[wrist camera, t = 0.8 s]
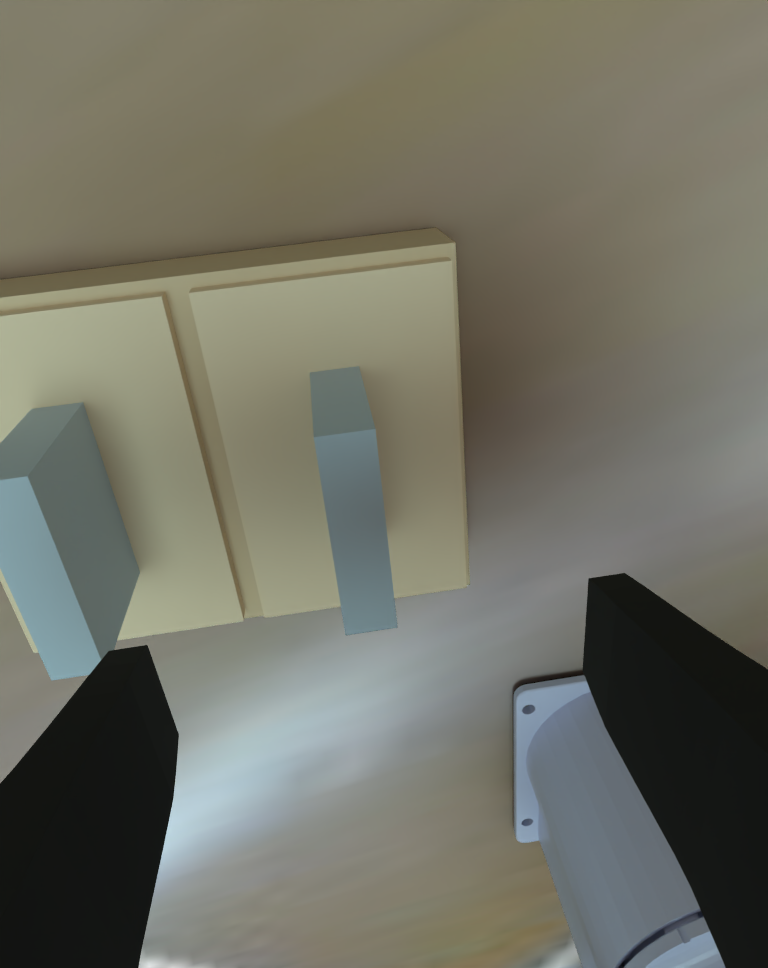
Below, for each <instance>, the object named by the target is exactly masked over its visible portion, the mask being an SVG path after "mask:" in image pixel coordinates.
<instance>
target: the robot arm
mask: <svg viewBox="0 0 768 968" xmlns="http://www.w3.org/2000/svg"><path fill="white" fill-rule="evenodd" d="M583 673H584V675H581V676H575V677H568V678H562V679H556V680H550V681H543V682H537V683H531V684H525V685H522V686H520V687H519V688H517V689H516V691H515V692H514V833H515V836H516V839H517V840H518V841H519V842H522V843H527V842H533V841H540V844H541V846H542V849H543V852H544V855H545V858H546V861H547V864H548V867H549V870H550V873H551V876H552V879H553V882H554V885H555V888H556V891H557V893H558V896H559V899H560V902H561V905H562V908H563V911H564V914H565V917H566V920H567V923H568V926H569V929H570V932H571V935H572V938H573V940H574V943H575V946H576V949H577V952H578V955H579V958H580V961H581V964H582V967H583V968H768V669H766V668H765V667H763V666H762V665H760V664H758V663H757V662H755V661H754V660H752V659H750V658H749V657H747V656H746V655H744V654H743V653H741V652H739V651H738V650H736V649H735V648H733V647H732V646H730V645H729V644H727V643H726V642H724V641H723V640H721V639H720V638H718V637H717V636H715V635H714V634H712V633H711V632H709V631H708V630H706V629H705V628H703V627H702V626H700V625H699V624H698V623H696V622H695V621H693V620H692V619H690V618H689V617H687V616H686V615H685V614H683V613H682V612H680V611H679V610H677V609H676V608H674V607H673V606H672V605H670V604H669V603H667V602H666V601H665V600H663V599H662V598H660V597H659V596H657V595H656V594H655V593H653V592H652V591H650V590H649V589H647V588H646V587H645V586H643V585H642V584H640V583H639V582H637V581H636V580H634V579H633V578H631V577H630V576H628V575H627V574H625V573H622V574H616V575H609V576H602V577H596V578H589V582H588V597H587V612H586V627H585V643H584V658H583ZM526 705H529V706H526ZM525 706H526V707H525ZM178 738H179V734H178V731H177V728H176V726H175V723H174V720H173V717H172V714H171V711H170V708H169V706H168V703H167V700H166V697H165V694H164V691H163V688H162V686H161V683H160V680H159V677H158V674H157V671H156V668H155V666H154V663H153V660H152V657H151V654H150V651H149V648H148V646H147V645H145V646H138V647H132V648H125V649H119V650H112V651H108V652H107V654H106V655H105V656H104V657H103V659H102V660H101V661H100V662H99V663H98V665H97V666H96V667H95V668H94V670H93V671H92V672H91V673H90V675H89V676H88V677H87V678H86V680H85V681H84V682H83V683H82V685H81V686H80V687H79V688H78V690H77V691H76V692H75V694H74V695H73V696H72V697H71V699H70V700H69V701H68V702H67V704H66V705H65V706H64V707H63V709H62V710H61V711H60V712H59V714H58V715H57V716H56V718H55V719H54V720H53V721H52V723H51V724H50V725H49V726H48V727H47V729H46V730H45V731H44V732H43V734H42V735H41V736H40V737H39V738H38V740H37V741H36V742H35V743H34V745H33V746H32V747H31V748H30V749H29V751H28V752H27V753H26V754H25V755H24V757H23V758H22V759H21V760H20V762H19V763H18V764H17V765H16V766H15V768H14V769H13V770H12V771H11V772H10V773H9V774H8V775H7V777H6V778H5V779H4V780H3V781H2V782H1V783H0V968H138V966H139V960H140V955H141V949H142V944H143V940H144V935H145V930H146V925H147V921H148V916H149V911H150V907H151V902H152V897H153V893H154V888H155V883H156V879H157V874H158V869H159V865H160V860H161V855H162V851H163V846H164V841H165V836H166V831H167V827H168V822H169V817H170V812H171V807H172V802H173V796H174V786H175V776H176V764H177V751H178Z"/></svg>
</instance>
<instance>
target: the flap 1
mask: <svg viewBox="0 0 768 968" xmlns="http://www.w3.org/2000/svg"><path fill="white" fill-rule="evenodd" d="M0 581H1V583H2V585H3V587H4V590H5V592H6V594H7V596H8V598H9V600H10V603H11V605H12V607H13V609H14V611H15V613H16V616H17V618H18V620H19V622H20V624H21V626H22V629H23V631H24V633H25V635H26V637H27V639H28V641H29V644H30V646H31V648H32V650H33V652H34V653H37V652H39V654H40V656H41V658H42V661H43V663H44V665H45V667H46V669H47V672H48V674H49V676H50V678H51V680H58V679H65V678H71V677H78V676H84V675H90V673H91V672H92V671H93V670H94V668H95V667H96V666H97V665H98V663H99V662H100V661H101V660H102V659H103V657H104V656H105V655H106V654H107V652H108V651H112V650H114V648H115V645H116V642H117V640H123V639H130V638H136V637H143V636H150V635H156V634H163V633H169V632H176V631H183V630H189V629H196V628H203V627H209V626H216V625H222V624H229V623H236V622H242V621H244V615H245V608H244V604H243V600H242V596H241V592H240V588H239V584H238V580H237V576H236V572H235V568H234V564H233V560H232V556H231V552H230V548H229V544H228V540H227V536H226V533H225V529H224V525H223V521H222V517H221V513H220V509H219V505H218V501H217V497H216V493H215V489H214V485H213V481H212V477H211V473H210V469H209V465H208V461H207V457H206V453H205V449H204V445H203V441H202V437H201V433H200V429H199V425H198V421H197V417H196V413H195V409H194V405H193V401H192V397H191V393H190V389H189V385H188V381H187V377H186V373H185V369H184V365H183V361H182V357H181V353H180V349H179V345H178V341H177V337H176V333H175V329H174V325H173V321H172V317H171V313H170V309H169V305H168V301H167V297H166V293H165V291H164V292H156V293H148V294H140V295H132V296H123V297H115V298H107V299H99V300H91V301H83V302H74V303H66V304H58V305H50V306H42V307H34V308H26V309H17V310H9V311H1V312H0Z"/></svg>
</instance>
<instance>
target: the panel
mask: <svg viewBox="0 0 768 968" xmlns="http://www.w3.org/2000/svg"><path fill="white" fill-rule="evenodd" d="M442 257H448V258H450V259H451V260H452V272H453V294H454V316H455V339H456V361H457V383H458V405H459V427H460V450H461V472H462V494H463V516H464V538H465V560H466V583H467V585H470V576H469V553H468V529H467V505H466V481H465V458H464V434H463V410H462V386H461V363H460V339H459V315H458V292H457V268H456V244H455V242H454V241H453V240H452V239H450V238H449V237H448V236H446V235H445V234H444V233H442V232H441V231H440V230H438V229H437V228H436V227H435V228H427V229H419V230H410V231H402V232H394V233H385V234H377V235H369V236H360V237H352V238H344V239H335V240H327V241H319V242H310V243H302V244H294V245H285V246H277V247H269V248H260V249H252V250H244V251H235V252H227V253H219V254H210V255H202V256H194V257H185V258H177V259H169V260H160V261H152V262H144V263H135V264H127V265H119V266H110V267H102V268H94V269H85V270H77V271H69V272H60V273H52V274H44V275H35V276H27V277H19V278H10V279H2V280H0V312H1V311H9V310H17V309H26V308H34V307H42V306H50V305H58V304H66V303H74V302H83V301H91V300H99V299H107V298H115V297H123V296H132V295H140V294H148V293H156V292H164V291H165V293H166V297H167V301H168V305H169V309H170V313H171V317H172V321H173V325H174V329H175V333H176V337H177V341H178V345H179V349H180V353H181V357H182V361H183V365H184V369H185V373H186V377H187V381H188V385H189V389H190V393H191V397H192V401H193V405H194V409H195V413H196V417H197V421H198V425H199V429H200V433H201V437H202V441H203V445H204V449H205V453H206V457H207V461H208V465H209V469H210V473H211V477H212V481H213V485H214V489H215V493H216V497H217V501H218V505H219V509H220V513H221V517H222V521H223V525H224V529H225V533H226V536H227V540H228V544H229V548H230V552H231V556H232V560H233V564H234V568H235V572H236V576H237V580H238V584H239V588H240V592H241V596H242V600H243V604H244V608H245V615H244V619H245V618H251V617H258V616H264V614H263V610H262V605H261V601H260V597H259V593H258V588H257V584H256V580H255V575H254V571H253V567H252V563H251V558H250V554H249V550H248V546H247V541H246V537H245V533H244V528H243V524H242V520H241V516H240V511H239V507H238V503H237V499H236V494H235V490H234V486H233V481H232V477H231V473H230V469H229V464H228V460H227V456H226V452H225V447H224V443H223V439H222V434H221V430H220V426H219V422H218V417H217V413H216V409H215V405H214V400H213V396H212V392H211V388H210V383H209V379H208V375H207V370H206V366H205V362H204V358H203V353H202V349H201V345H200V341H199V336H198V332H197V328H196V323H195V319H194V315H193V311H192V306H191V302H190V298H189V294H188V293H189V291H190V290H191V288H197V287H205V286H213V285H221V284H229V283H238V282H246V281H254V280H262V279H270V278H278V277H287V276H295V275H303V274H311V273H319V272H327V271H336V270H344V269H352V268H360V267H368V266H376V265H384V264H393V263H401V262H409V261H417V260H425V259H433V258H442Z"/></svg>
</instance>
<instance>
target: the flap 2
mask: <svg viewBox="0 0 768 968" xmlns="http://www.w3.org/2000/svg"><path fill="white" fill-rule="evenodd" d="M188 294H189V298H190V302H191V306H192V311H193V315H194V319H195V323H196V328H197V332H198V336H199V341H200V345H201V349H202V353H203V358H204V362H205V366H206V370H207V375H208V379H209V383H210V388H211V392H212V396H213V400H214V405H215V409H216V413H217V417H218V422H219V426H220V430H221V434H222V439H223V443H224V447H225V452H226V456H227V460H228V464H229V469H230V473H231V477H232V481H233V486H234V490H235V494H236V499H237V503H238V507H239V511H240V516H241V520H242V524H243V528H244V533H245V537H246V541H247V546H248V550H249V554H250V558H251V563H252V567H253V571H254V575H255V580H256V584H257V588H258V593H259V597H260V601H261V605H262V610H263V614H264V618H269V617H275V616H282V615H289V614H295V613H302V612H309V611H315V610H322V609H328V608H335V607H341V610H342V616H343V622H344V628H345V635H351V634H358V633H364V632H371V631H378V630H384V629H391V628H397V618H396V609H395V600H394V599H395V598H401V597H408V596H415V595H421V594H428V593H434V592H441V591H448V590H454V589H461V588H467V583H466V560H465V538H464V516H463V494H462V472H461V450H460V427H459V405H458V383H457V361H456V339H455V316H454V294H453V272H452V260H451V259H450V258H448V257H442V258H433V259H425V260H417V261H409V262H401V263H393V264H384V265H376V266H368V267H360V268H352V269H344V270H336V271H327V272H319V273H311V274H303V275H295V276H287V277H278V278H270V279H262V280H254V281H246V282H238V283H229V284H221V285H213V286H205V287H197V288H191V290H190V291H189V293H188Z"/></svg>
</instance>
